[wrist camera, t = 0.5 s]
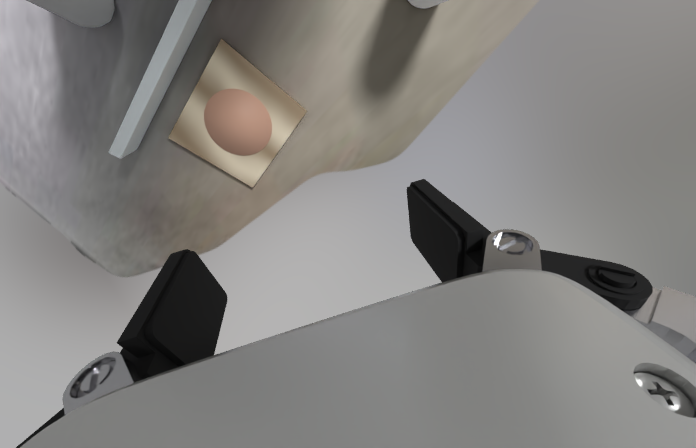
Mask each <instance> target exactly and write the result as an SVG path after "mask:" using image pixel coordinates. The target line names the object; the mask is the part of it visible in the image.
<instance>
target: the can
mask: <svg viewBox="0 0 696 448" xmlns="http://www.w3.org/2000/svg"><path fill="white" fill-rule="evenodd" d="M408 1H409V2H410V4H412V5H413V6H415V7H417V8H423V9H425V8H430V7H433V6H435V5H438V4H440V3H443V2H445V1H448V0H408Z"/></svg>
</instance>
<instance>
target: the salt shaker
mask: <svg viewBox="0 0 696 448" xmlns="http://www.w3.org/2000/svg"><path fill="white" fill-rule="evenodd" d="M27 1H29V2H31V3H33V4H35V5H37V6H39V7H41V8H43V9H45V10H47V11H50V12H52V13H54V14H56V15H58V16H60V17H62V18H64V19H66V20H68V21H70V22H72V23H74V24H76V25H78V26H80V27H95V28H97V27H101V26H103V25H104V24H106V23H108V22H110V21H111V19H112V17H113V13H114V10H115V7H114V0H27Z"/></svg>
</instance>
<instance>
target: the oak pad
mask: <svg viewBox="0 0 696 448" xmlns="http://www.w3.org/2000/svg"><path fill="white" fill-rule="evenodd" d="M306 112H307V111H306V110H305V109H304V108H303V107H302V106H301V105H299V104H298V103H297V102H296V101H295V100H293V99H292V98H291V97H290V96H289V95H288V94H286V93H285V92H284V91H283V90H282V89H281V88H279V87H278V86H277V85H276V84H275V83H273V82H272V81H271V80H270V79H269V78H268V77H266V76H265V75H264V74H263V73H262V72H260V71H259V70H258V69H257V68H256V67H255V66H253V65H252V64H251V63H250V62H249V61H247V60H246V59H245V58H244V57H243V56H242V55H240V54H239V53H238V52H237V51H236V50H234V49H233V48H232V47H231V46H230V45H229V44H227V43H226V42H225V41H224V40H223V39H221V40H220V42H219V44H218V46H217V48H216V50H215V51H214V53H213V55H212V57H211V59H210V61H209V63H208V64H207V66H206V68H205V70H204V72H203V74H202V76H201V77H200V79H199V81H198V83H197V85H196V87H195V89H194V90H193V92H192V94H191V96H190V98H189V100H188V102H187V103H186V105H185V107H184V109H183V111H182V113H181V115H180V116H179V118H178V120H177V122H176V124H175V126H174V128H173V129H172V131H171V133H170V135H169V137H168V138H169V139H171V140H172V141H174V142H176V143H177V144H179V145H181V146H183V147H184V148H186V149H188V150H189V151H191V152H193V153H195V154H196V155H198V156H200V157H201V158H203V159H205V160H206V161H208V162H210V163H212V164H213V165H215V166H217V167H218V168H220V169H222V170H223V171H225V172H227V173H229V174H230V175H232V176H234V177H235V178H237V179H239V180H240V181H242V182H244V183H246V184H247V185H249V186H251V187H252V188H253V187H254V185H255V184H256V183H257V181H258V180H259V178H260V177H261V175H262V174H263V173H264V171H265V170H266V168H267V167H268V166H269V164H270V163H271V161H272V160H273V159H274V157H275V156H276V154H277V153H278V151H279V150H280V149H281V147H282V146H283V144H284V143H285V142H286V140H287V139H288V137H289V136H290V135H291V133H292V132H293V130H294V129H295V127H296V126H297V125H298V123H299V122H300V120H301V119H302V118H303V116H304V115H305V113H306Z"/></svg>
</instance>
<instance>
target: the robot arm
mask: <svg viewBox="0 0 696 448" xmlns="http://www.w3.org/2000/svg"><path fill="white" fill-rule="evenodd" d="M407 198H408V210H409V221H410V232H411V239H412V241H413V243H414V244H415V246H416V247H417V248H418V250H419V251H420V253H421V254H422V255H423V257H424V258H425V259H426V261H427V262H428V264H429V265H430V266H431V268H432V269H433V271H434V272H435V273H436V275H437V276H438V277H439V278H440V280H441V281H442V283H439V284H435V285H432V286H429V287H426V288H422V289H419V290H416V291H412V292H409V293H406V294H403V295H400V296H396V297H393V298H390V299H387V300H384V301H381V302H377V303H374V304H371V305H368V306H365V307H362V308H359V309H355V310H352V311H349V312H346V313H343V314H340V315H337V316H333V317H331V318H327V319H324V320H321V321H318V322H315V323H312V324H309V325H306V326H302V327H299V328H296V329H293V330H290V331H287V332H284V333H281V334H278V335H275V336H272V337H269V338H265V339H262V340H259V341H256V342H253V343H250V344H247V345H244V346H241V347H238V348H235V349H232V350H229V351H226V352H223V353H220V354H217V355H214V352H215V348H216V344H217V340H218V336H219V332H220V328H221V324H222V320H223V315H224V312H225V307H226V304H227V295H226V293H225V291H224V290H223V288H222V287H221V286H220V284H219V283H218V282H217V281H216V279H215V278H214V276H213V275H212V274H211V272H210V271H209V270H208V269H207V267H206V266H205V264H204V263H203V262H202V260H201V259H200V258H199V256H198V255H197V254H196V253H195V252H194V251H190V250H188V249H186V250H182V251H179V252H175V253H172V254H171V255H170V256H169V258H168V259H167V261H166V263H165V264H164V266H163V268H162V269H161V271H160V273H159V274H158V276H157V278H156V279H155V281H154V282H153V284H152V286H151V287H150V289H149V291H148V292H147V294H146V296H145V297H144V299H143V301H142V302H141V304H140V306H139V307H138V309H137V311H136V312H135V314H134V315H133V317H132V319H131V320H130V322H129V324H128V325H127V327H126V328H125V330H124V332H123V333H122V335H121V337H120V338H119V340H118V342H117V343H118V344H119V345H120V346H122V347H123V349H122V350H121V352H120V353H119V352H110V353H106V354H104V355H102V356H100V357H98V358H96V359H95V360H93V361H92V362H90V363H89V364H88V365H86V366H85V367H84V368H83V369H82V370H81V371H80V372H79V373H78V374H77V375H76V376H75V377H74V378H73V379H72V381H71V382H70V383H69V385H68V386H67V388H66V390H65V392H64V394H63V405H64V408H63V409H62V410H60V411H59V412H58V413H57V414H56V415H55V416H53V417H52V418H51V419H50V420H49V421H47V422H46V423H45V424H44V425H43V426H41V427H40V428H39V429H38V430H37V431H35V432H34V433H33V434H32V435H30V436H29V437H28V438H27V439H26V440H25V441H24V442H22V443H21V444H20V445H18V446H17V447H16V448H696V297H695V296H692V295H689V294H686V293H683V292H680V291H677V290H674V289H671V288H668V287H665V286H663V288H662V289H661V290H659V289H657V288H654V287H652V285H651V284H650V282H649V281H648V280H647V279H646V278H645V277H644V276H643V275H641V274H640V273H638V272H636V271H635V270H633V269H631V268H628V267H626V266H623V265H620V264H616V263H612V262H607V261H602V260H596V259H590V258H585V257H579V256H574V255H567V254H562V253H557V252H551V251H546V250H540V246H539V244H538V241H537V240H536V239H535V238H534V237H532V236H531V235H529V234H527V233H524V232H522V231H518V230H513V229H511V230H509V229H503V230H497V231H495V232H492V233H491V232H490V231H489V230H488V229H486V228H485V227H484V226H483V225H481V224H480V223H479V222H478V221H476V220H475V219H474V218H473V217H471V216H470V215H469V214H468V213H467V212H465V211H464V210H463V209H461V208H460V207H459V206H458V205H457V204H455V203H454V202H452V201H451V200H449V199H448V198H447V197H446V196H445V195H443V194H442V193H441V192H439V191H438V190H437V189H436V188H435V187H433V186H432V185H431V184H430V183H429V182H427V181H426V180H425V179H422V180H419V181H415V182H412V183H411V185H410V187H407Z"/></svg>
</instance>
